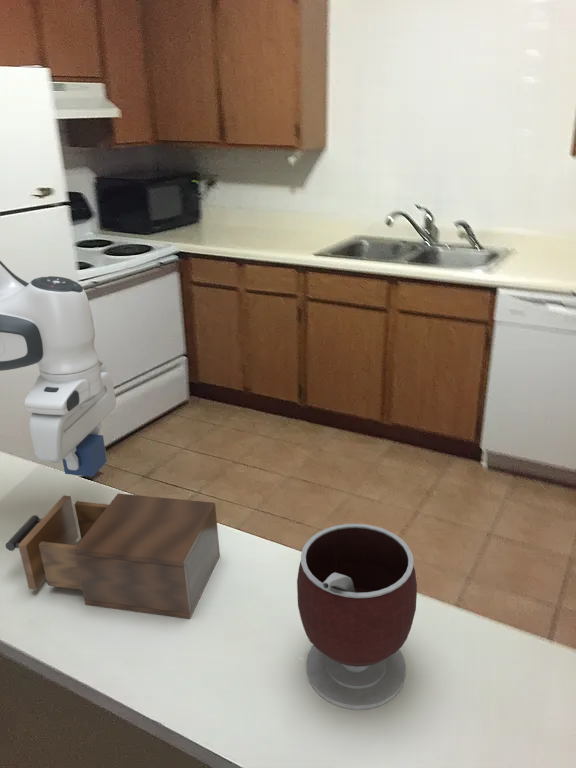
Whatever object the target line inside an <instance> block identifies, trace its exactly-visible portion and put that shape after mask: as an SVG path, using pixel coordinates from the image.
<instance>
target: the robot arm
mask: <svg viewBox="0 0 576 768" xmlns="http://www.w3.org/2000/svg"><path fill="white" fill-rule="evenodd" d="M95 337H96V331H95V325H94V318H93V313H92V309H91V305H90V301H89V298H88V295H87V293H86V290H85V289H84V287H83V286H82V285H81V284H80V283H78V282H77V281H75V280H73V279H71V278H68V277H63V276H55V275H54V276H52V275H51V276H50V275H49V276H40V277H36V278H33V279H32V280H31V281H30V282H27V281H26V280H24V279H22V278H20V277H19V276H17V275H16V274H15V273H14V272H12V271H11V270H10V269H9V267H7V266H6V264H4V263H3V262H2V260H0V372H2V371H10V370H16V369H22V368H26V367H29V366H33V365H35V364H37V365H38V369H39V375H38V376H37V378H36V381H35V382H34V385H33V387H32V389H31V390H30V392H28V394H27V396H26V398H25V399H24V409H25V411H26V412H27V413H29V414H30V413H31V414H30V417H29V425H28V427H29V433H30V439H31V443H32V448H33V452H34V456H35V457H36V459H37V460H39V461H40V462H44V463H55V464H59V463H61V462H63V459H65V460H66V463H67V468H68V469H69V470H77V469H78V468H79V467H80V466H81V465H82V463H81V457H79V456H76V454H75V452H76V446H77V445H78V444H79V443H80V442H81V441H82V440H83V439H84V438H85V437H86V436H87V435H88V434H93V435H101V432H102V431H101V429H102V421H104V420H105V419H106V418H107V417H108V416H109V415H110V414H111V413H112V412H113V411H114V410H115V409H116V405H117V397H116V392H115V387H114V384H113V380H112V376H111V375H110V373H109V372H107V367H106V364H105V363H103V362H102V361H100V360H99V359H100V358H99V355H98V353H97V351H96V349H95Z"/></svg>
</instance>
